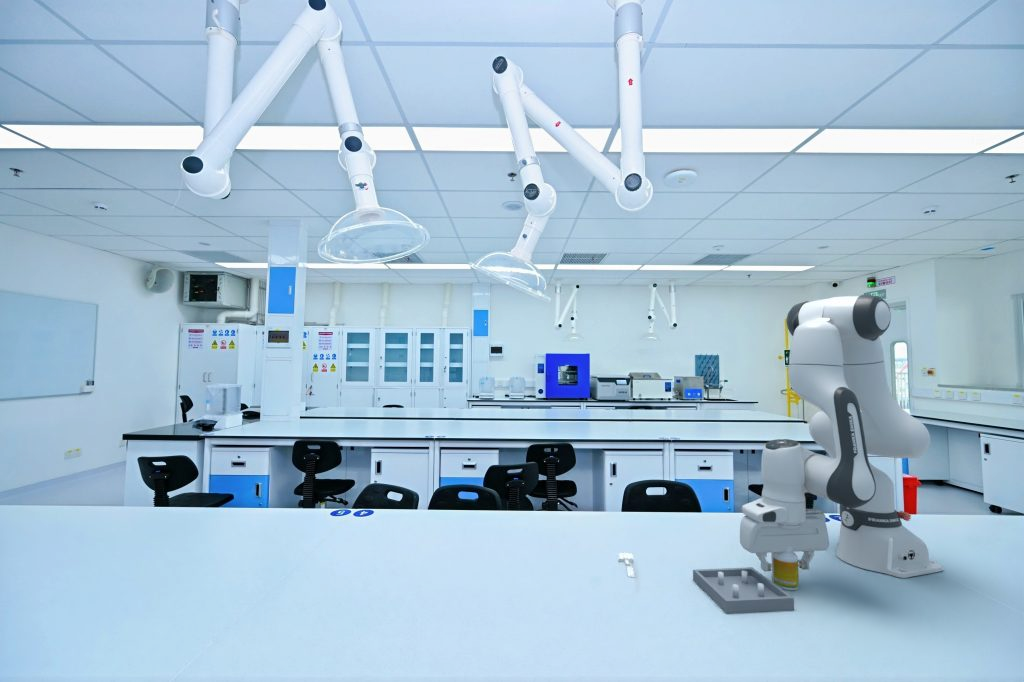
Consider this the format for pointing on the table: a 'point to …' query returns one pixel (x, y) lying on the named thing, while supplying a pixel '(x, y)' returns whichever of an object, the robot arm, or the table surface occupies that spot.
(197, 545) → the table surface
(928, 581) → the table surface
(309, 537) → the table surface
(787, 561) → the supplement bottle
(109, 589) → the table surface
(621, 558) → the syringe
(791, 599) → the pin tray
